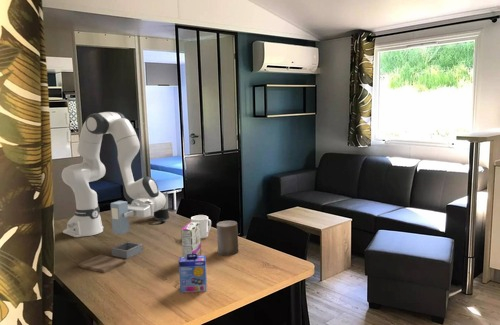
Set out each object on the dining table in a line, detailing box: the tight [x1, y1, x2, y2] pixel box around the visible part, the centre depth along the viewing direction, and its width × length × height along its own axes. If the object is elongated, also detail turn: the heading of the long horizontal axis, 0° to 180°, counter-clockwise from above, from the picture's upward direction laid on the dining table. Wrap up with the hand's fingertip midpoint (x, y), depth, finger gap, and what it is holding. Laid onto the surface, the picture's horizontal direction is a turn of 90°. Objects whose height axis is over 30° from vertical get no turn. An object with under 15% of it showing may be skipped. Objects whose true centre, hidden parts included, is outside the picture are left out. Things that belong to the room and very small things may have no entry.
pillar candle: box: [216, 220, 240, 256], centre depth 190 cm, size 10×10×15 cm
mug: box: [190, 214, 212, 240], centre depth 213 cm, size 11×9×10 cm
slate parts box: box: [110, 200, 130, 235], centre depth 187 cm, size 5×6×14 cm
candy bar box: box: [180, 221, 202, 257], centre depth 179 cm, size 11×5×16 cm, turn 168°
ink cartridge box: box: [178, 254, 208, 293], centre depth 152 cm, size 10×6×14 cm, turn 95°
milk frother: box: [152, 192, 170, 223], centre depth 246 cm, size 14×16×15 cm
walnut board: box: [78, 254, 127, 274], centre depth 179 cm, size 16×12×1 cm
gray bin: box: [111, 241, 144, 260], centre depth 192 cm, size 10×10×4 cm
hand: (118, 214), depth 186 cm, fingers closed on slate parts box, 5 cm apart
